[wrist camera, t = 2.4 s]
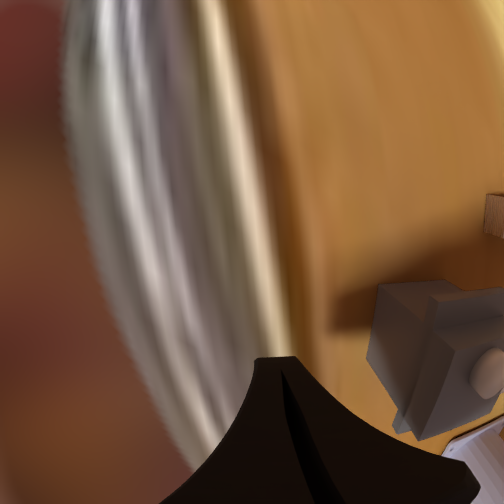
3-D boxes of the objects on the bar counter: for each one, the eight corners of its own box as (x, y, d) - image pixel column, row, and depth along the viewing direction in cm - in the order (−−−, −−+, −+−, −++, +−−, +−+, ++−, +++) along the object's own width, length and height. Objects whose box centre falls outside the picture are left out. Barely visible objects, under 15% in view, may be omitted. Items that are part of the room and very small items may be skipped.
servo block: (424, 362, 14) (489, 439, 8) (362, 374, 14) (417, 471, 7) (447, 260, 13) (547, 312, 6) (380, 262, 13) (480, 332, 6)
